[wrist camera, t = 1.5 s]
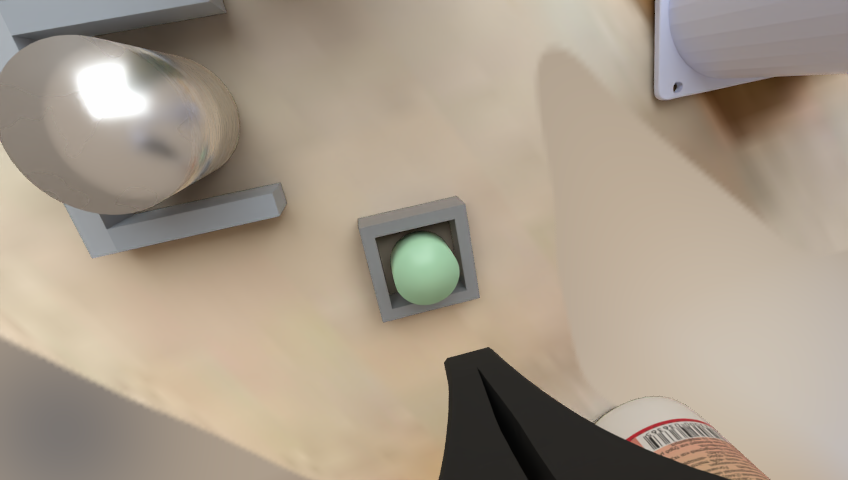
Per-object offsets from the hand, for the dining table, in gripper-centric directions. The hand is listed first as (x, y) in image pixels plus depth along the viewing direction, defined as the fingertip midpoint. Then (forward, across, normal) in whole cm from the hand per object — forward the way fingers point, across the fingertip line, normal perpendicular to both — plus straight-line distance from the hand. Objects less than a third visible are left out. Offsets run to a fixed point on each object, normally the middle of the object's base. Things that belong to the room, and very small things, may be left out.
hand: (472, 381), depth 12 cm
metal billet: (+10, +9, -8) cm, 16 cm away
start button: (+10, 0, 0) cm, 10 cm away
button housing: (+10, 0, 0) cm, 10 cm away
